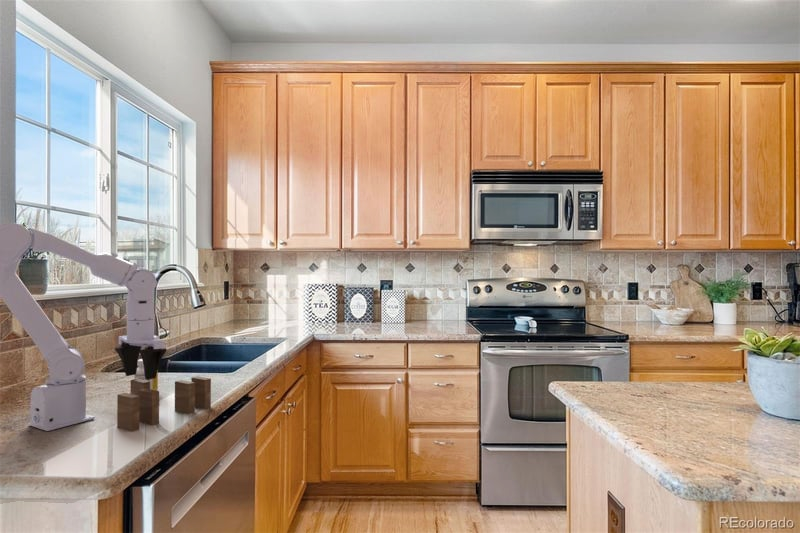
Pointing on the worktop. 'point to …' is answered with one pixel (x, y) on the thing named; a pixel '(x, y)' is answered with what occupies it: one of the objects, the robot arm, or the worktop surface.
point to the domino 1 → (128, 412)
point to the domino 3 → (148, 406)
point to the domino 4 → (185, 397)
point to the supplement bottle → (141, 376)
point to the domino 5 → (202, 392)
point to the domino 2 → (139, 385)
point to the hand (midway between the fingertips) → (140, 376)
